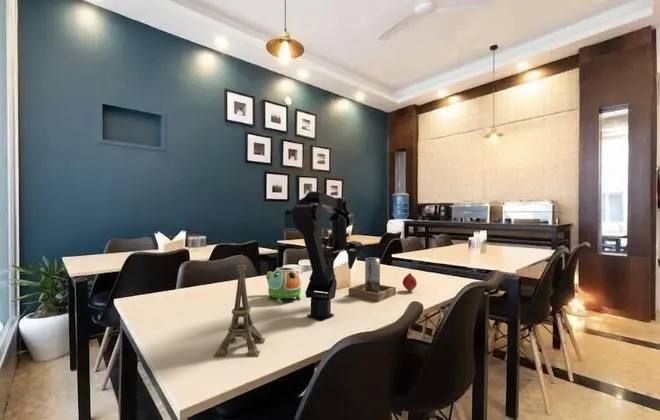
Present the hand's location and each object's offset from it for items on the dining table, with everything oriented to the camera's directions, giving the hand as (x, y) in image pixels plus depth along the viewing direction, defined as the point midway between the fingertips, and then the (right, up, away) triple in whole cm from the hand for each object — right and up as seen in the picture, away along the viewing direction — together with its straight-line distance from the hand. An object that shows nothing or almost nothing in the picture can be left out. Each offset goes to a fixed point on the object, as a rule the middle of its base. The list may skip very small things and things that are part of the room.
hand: (340, 271), depth 123 cm
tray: (+13, -12, +11) cm, 21 cm away
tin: (+13, -11, +11) cm, 20 cm away
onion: (+30, -12, +18) cm, 37 cm away
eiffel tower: (-27, -12, -40) cm, 50 cm away
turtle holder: (-23, -12, +5) cm, 27 cm away
